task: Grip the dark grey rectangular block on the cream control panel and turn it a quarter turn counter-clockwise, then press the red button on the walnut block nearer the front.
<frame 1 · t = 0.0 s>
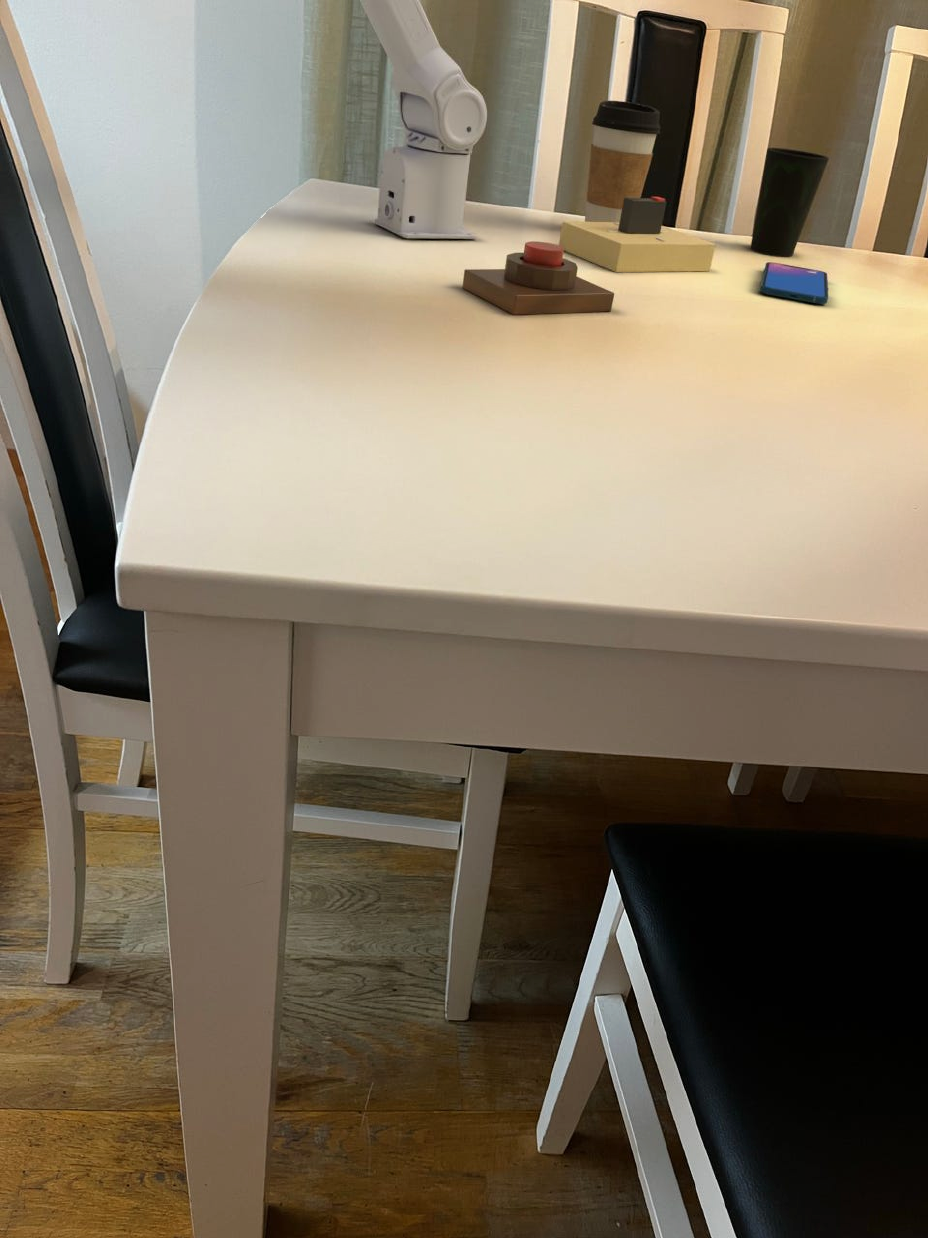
smartphone: (793, 287, 110), on the table
dark grey rectangular block: (642, 214, 111), point 5 cm above the table, hinge at 0.0°
cup: (770, 253, 129), on the table
coffee cup: (606, 236, 125), on the table
panel: (633, 259, 113), on the table
button block: (536, 299, 91), on the table
button: (543, 255, 89), point 4 cm above the table, slide at 0.1 cm
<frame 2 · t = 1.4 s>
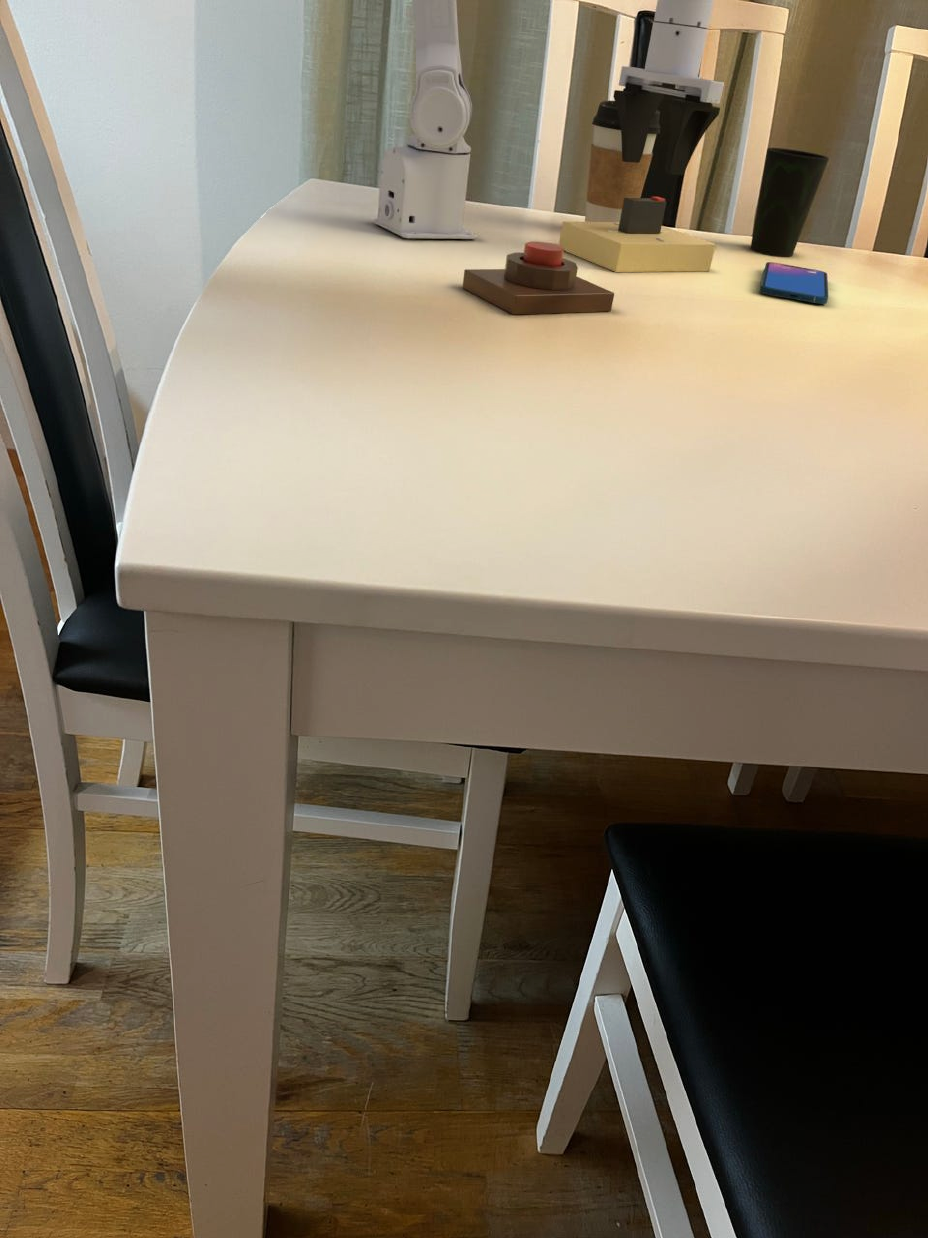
hand: (652, 167, 108), 10 cm above the table, tool pointing down, fingers open, 7 cm apart
nothing on the table moved.
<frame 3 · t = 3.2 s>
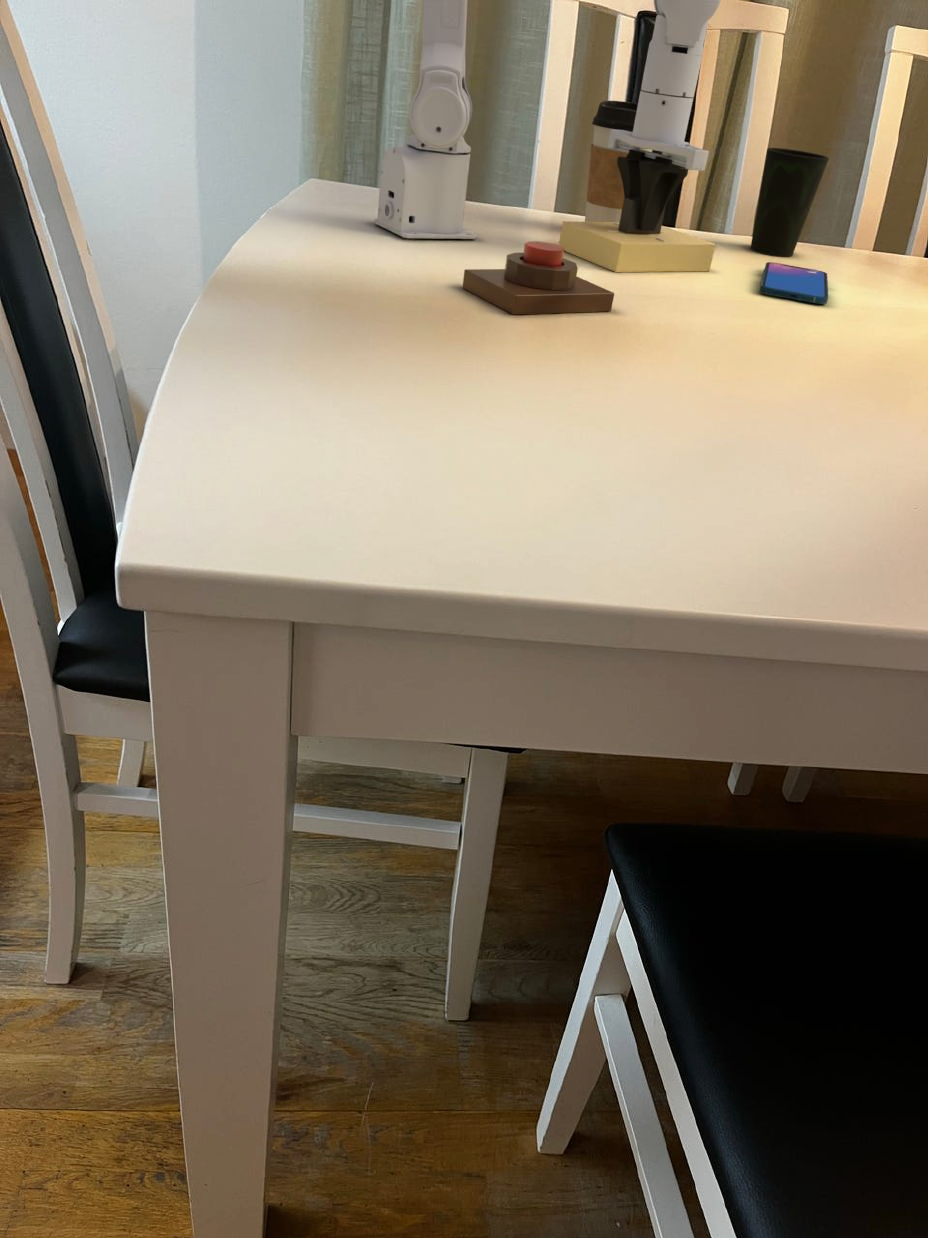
hand: (639, 227, 111), 4 cm above the table, tool pointing down, fingers closed on dark grey rectangular block, 2 cm apart
dark grey rectangular block: (642, 214, 111), point 5 cm above the table, hinge at 0.1°, touching gripper
everything else where it was.
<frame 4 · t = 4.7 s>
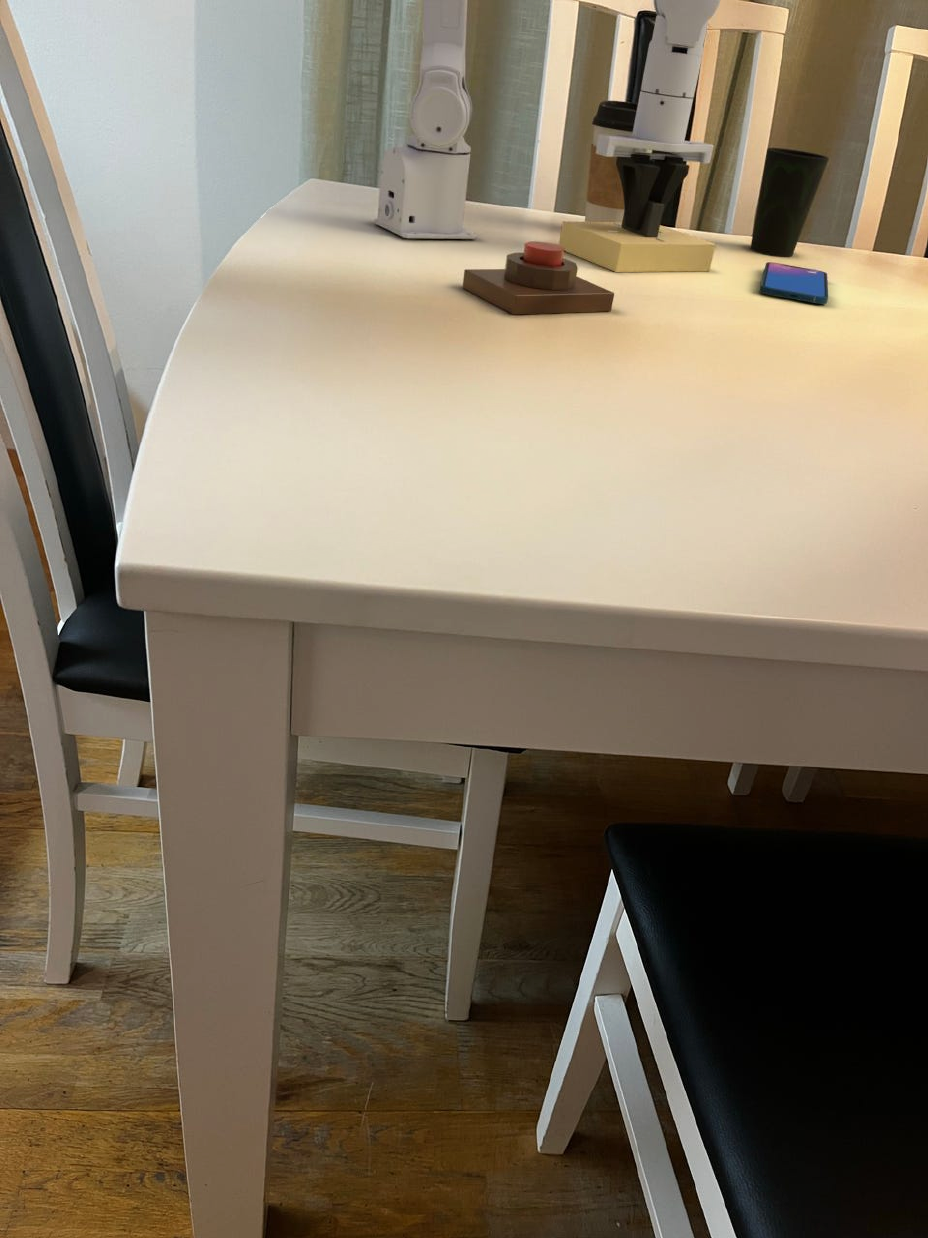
hand: (640, 228, 111), 3 cm above the table, tool pointing down, fingers closed, pressing on dark grey rectangular block
dark grey rectangular block: (642, 214, 111), point 5 cm above the table, hinge at 87.0°, touching gripper
everything else where it was.
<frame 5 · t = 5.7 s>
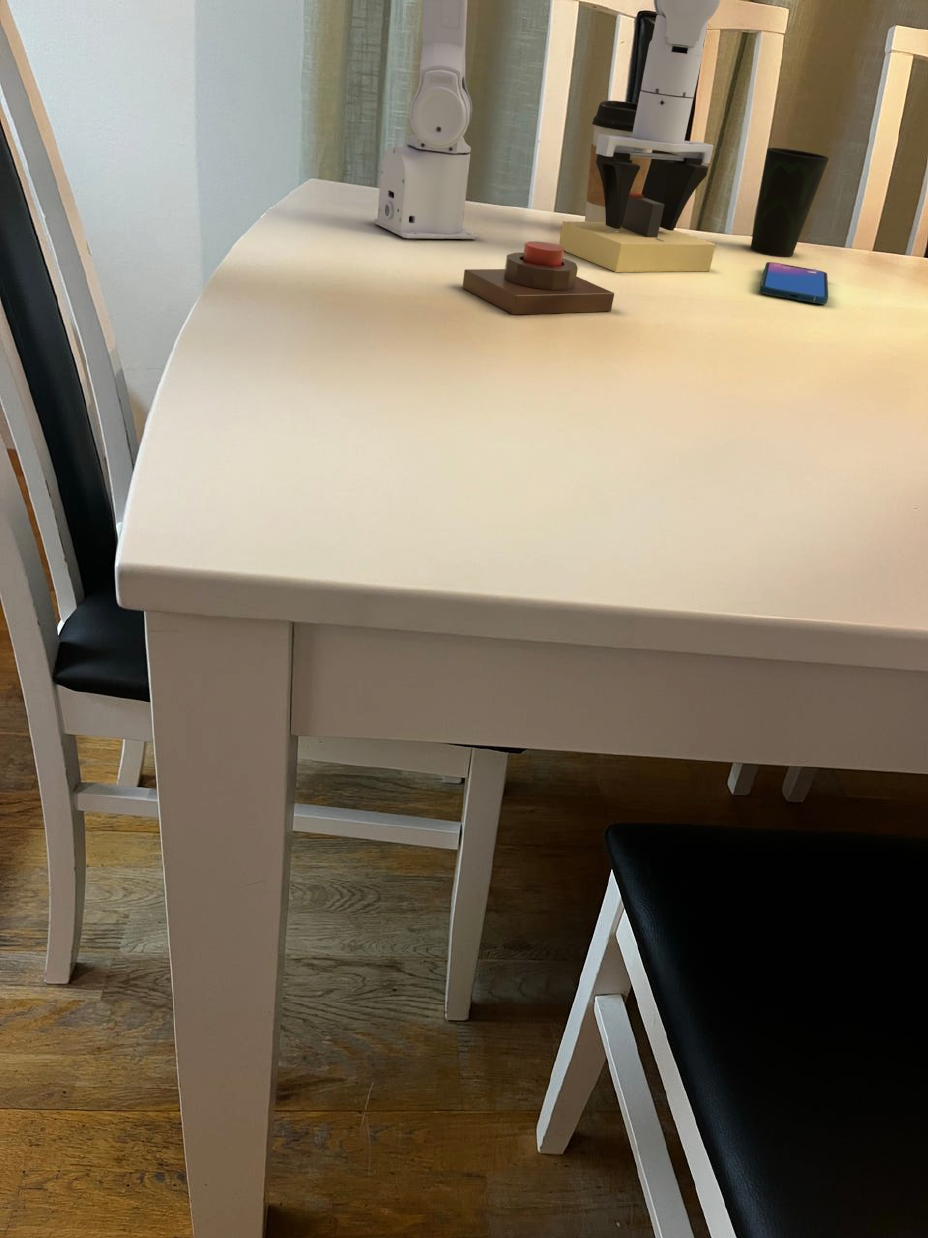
hand: (639, 227, 111), 3 cm above the table, tool pointing down, fingers open, 7 cm apart
dark grey rectangular block: (642, 214, 111), point 5 cm above the table, hinge at 86.9°
everything else where it was.
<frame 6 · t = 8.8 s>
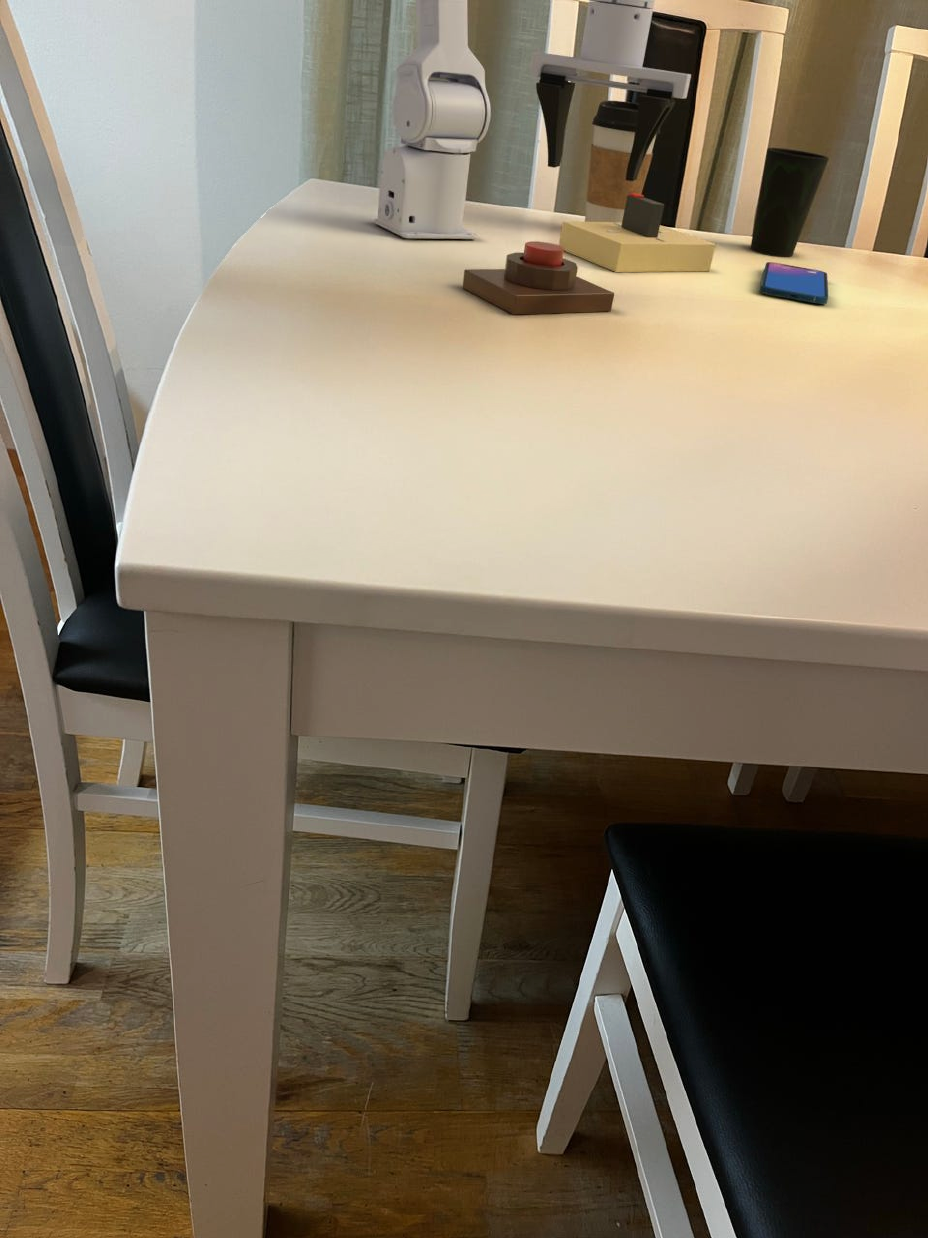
hand: (592, 172, 93), 10 cm above the table, tool pointing down, fingers open, 7 cm apart
nothing on the table moved.
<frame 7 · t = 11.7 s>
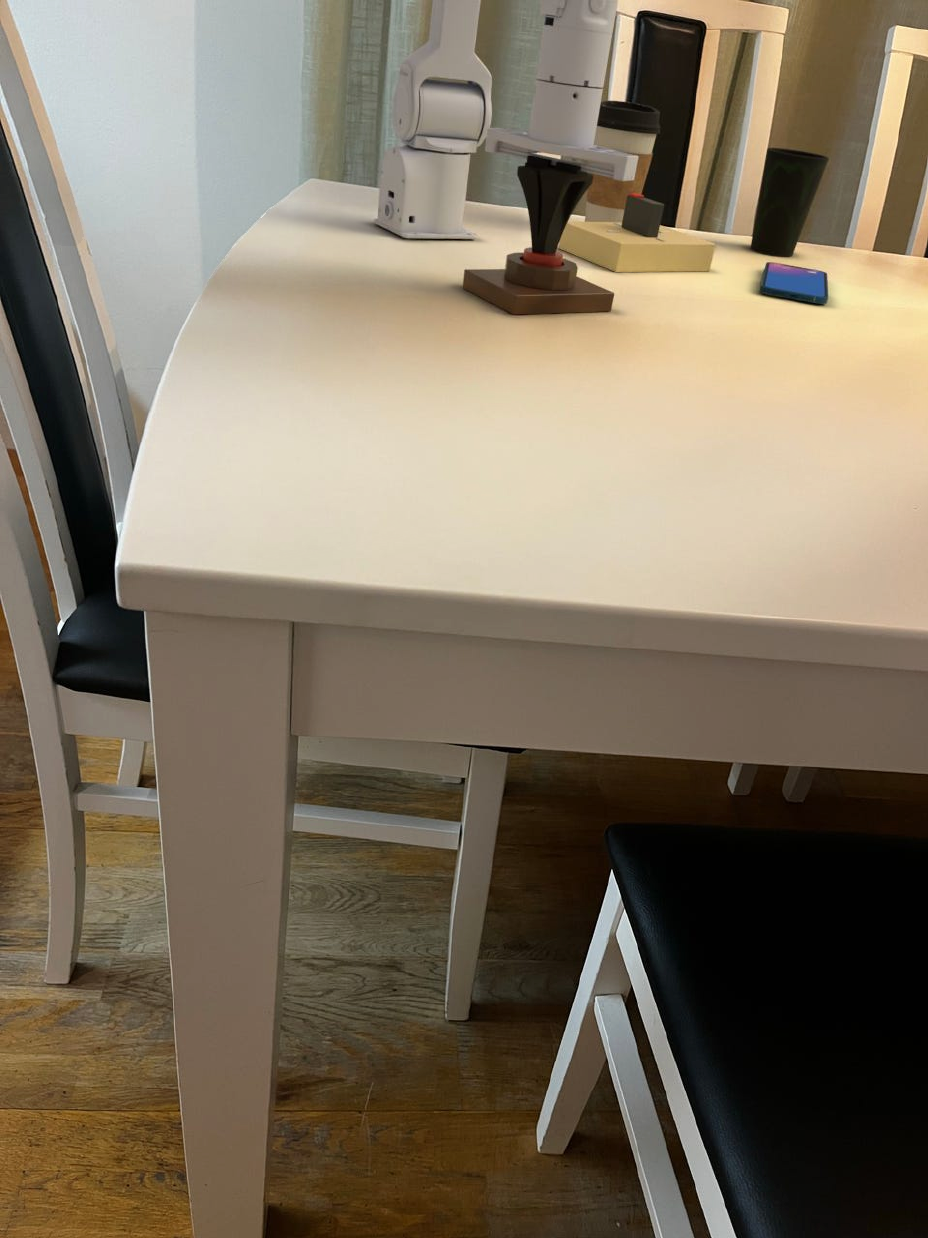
hand: (543, 252, 89), 4 cm above the table, tool pointing down, fingers closed, pressing on button
button: (542, 261, 89), point 3 cm above the table, slide at -0.5 cm, touching gripper
everything else where it was.
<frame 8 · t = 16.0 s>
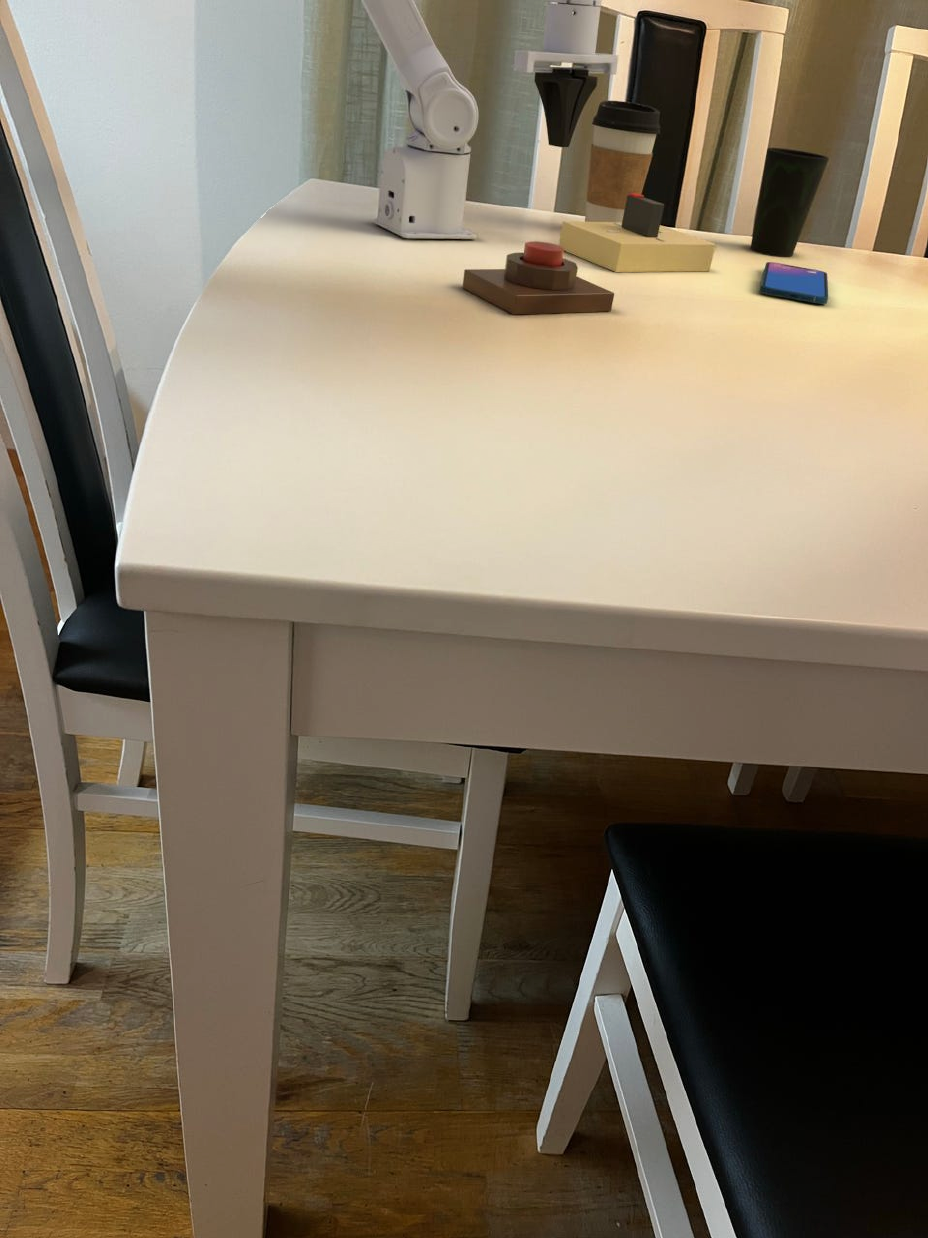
hand: (558, 145, 110), 10 cm above the table, tool pointing down, fingers closed
button: (543, 255, 89), point 4 cm above the table, slide at 0.1 cm
everything else where it was.
at the end: dark grey rectangular block at +87° (first picture: +0°); button pushed in 1.2 cm at the most during the clip, back to where it started at the end; button slide at 0.1 cm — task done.
